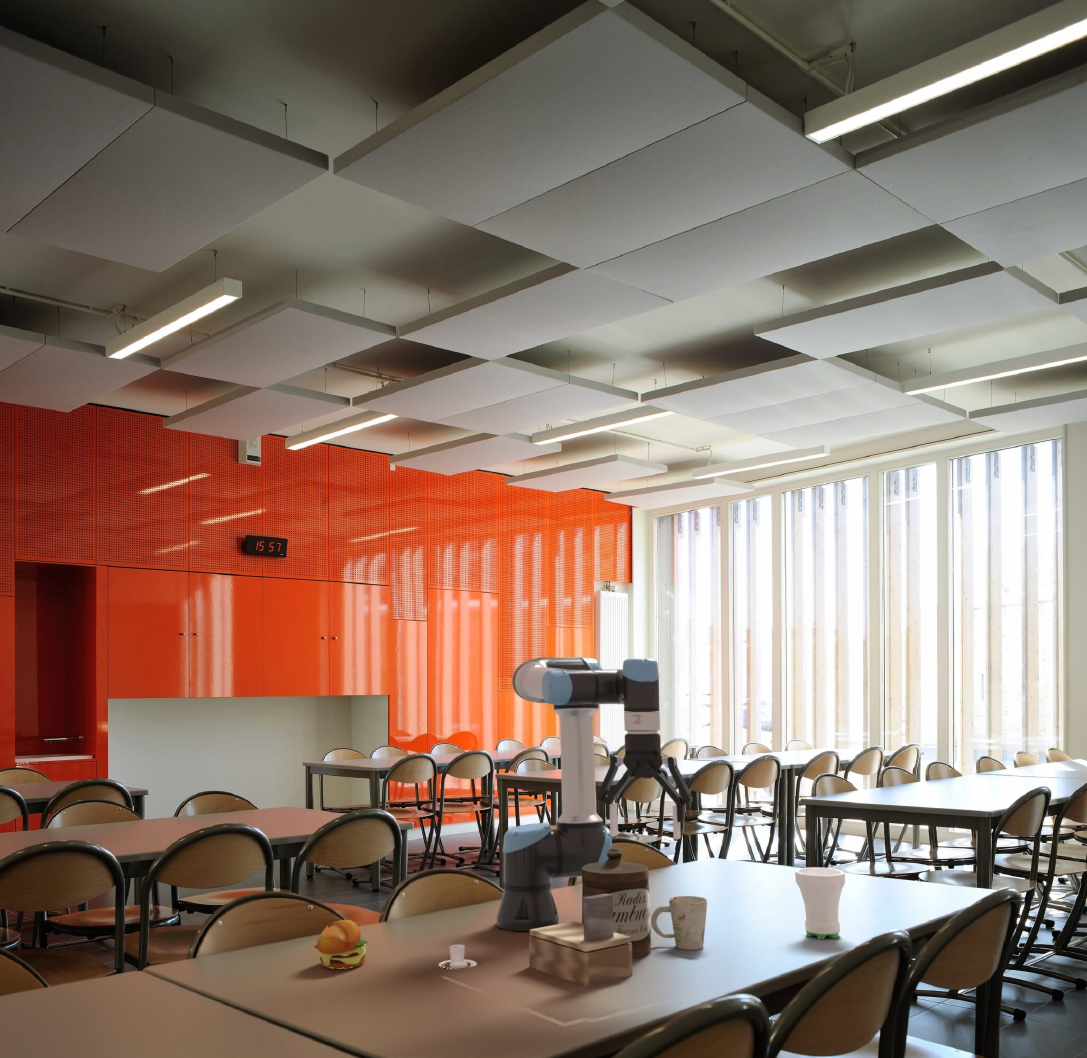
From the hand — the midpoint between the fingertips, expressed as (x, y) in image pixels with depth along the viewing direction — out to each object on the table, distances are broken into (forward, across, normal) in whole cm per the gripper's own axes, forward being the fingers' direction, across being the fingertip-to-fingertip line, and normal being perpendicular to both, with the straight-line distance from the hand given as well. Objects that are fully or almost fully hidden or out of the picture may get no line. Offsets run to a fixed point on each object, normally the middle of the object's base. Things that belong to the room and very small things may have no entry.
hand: (645, 837), depth 210 cm
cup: (+26, +28, +42) cm, 57 cm away
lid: (+19, -12, -8) cm, 24 cm away
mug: (+26, +1, +21) cm, 33 cm away
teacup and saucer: (+27, -40, -12) cm, 50 cm away
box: (+26, -12, -8) cm, 30 cm away
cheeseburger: (+26, -61, -19) cm, 69 cm away
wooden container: (+26, -10, +10) cm, 30 cm away
